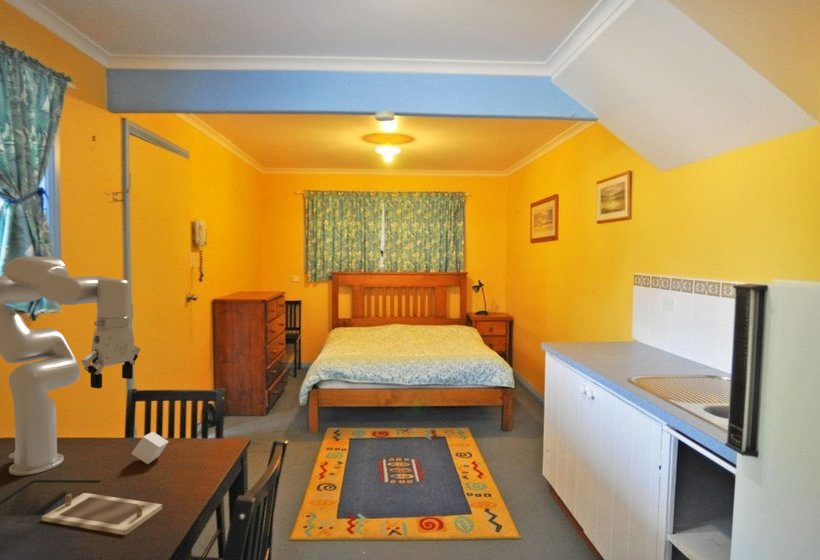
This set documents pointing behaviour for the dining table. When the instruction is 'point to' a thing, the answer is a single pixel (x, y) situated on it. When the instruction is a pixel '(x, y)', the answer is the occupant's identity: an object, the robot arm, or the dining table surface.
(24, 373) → the robot arm
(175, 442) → the dining table surface
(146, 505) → the serving tray
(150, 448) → the white cube
